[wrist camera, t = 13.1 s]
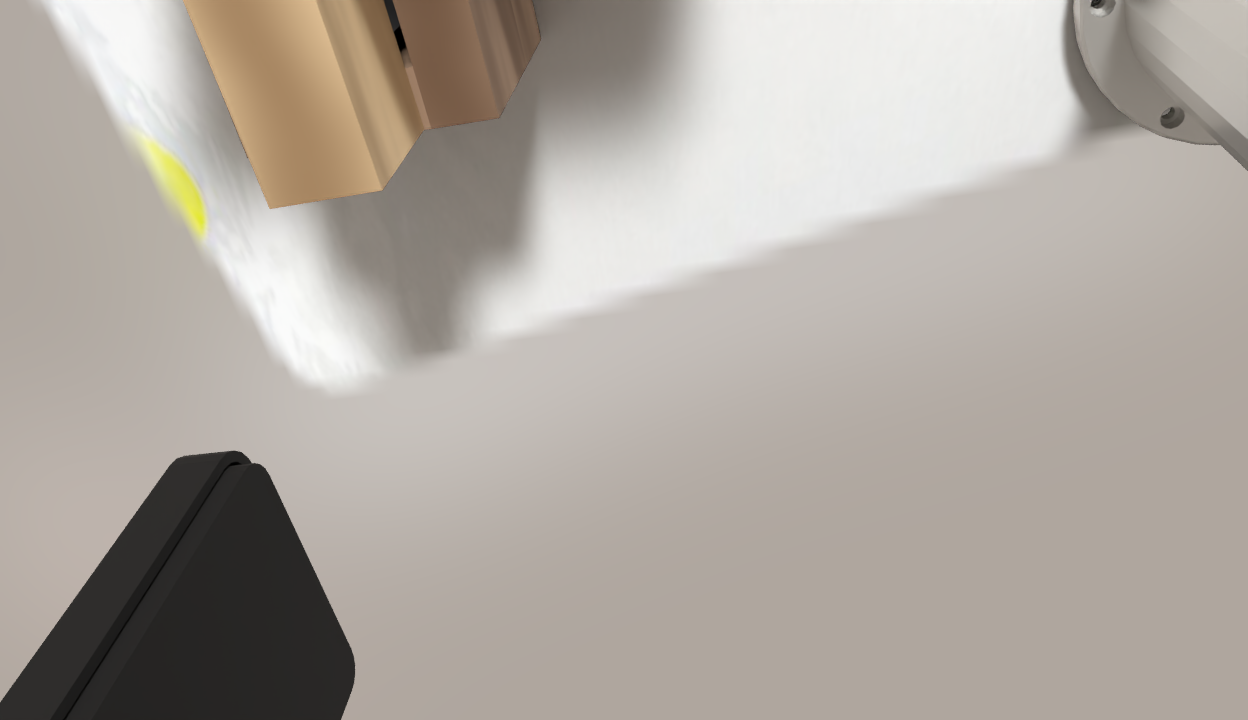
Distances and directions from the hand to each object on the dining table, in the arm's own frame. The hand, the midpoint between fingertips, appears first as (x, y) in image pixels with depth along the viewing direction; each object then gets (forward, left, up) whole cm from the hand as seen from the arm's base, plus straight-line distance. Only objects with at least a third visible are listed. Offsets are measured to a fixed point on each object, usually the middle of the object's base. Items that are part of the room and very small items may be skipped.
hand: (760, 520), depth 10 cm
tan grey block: (+13, -2, -30) cm, 33 cm away
